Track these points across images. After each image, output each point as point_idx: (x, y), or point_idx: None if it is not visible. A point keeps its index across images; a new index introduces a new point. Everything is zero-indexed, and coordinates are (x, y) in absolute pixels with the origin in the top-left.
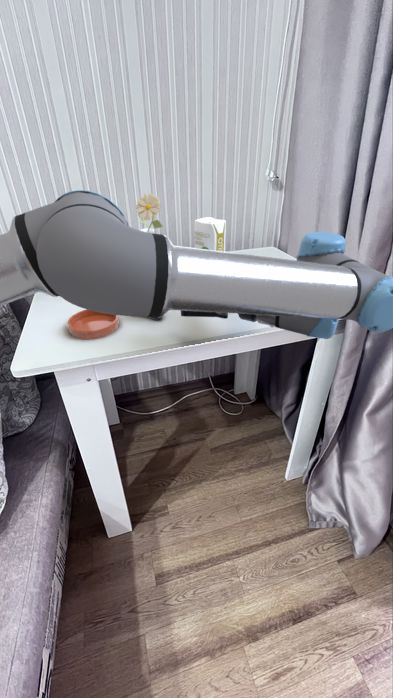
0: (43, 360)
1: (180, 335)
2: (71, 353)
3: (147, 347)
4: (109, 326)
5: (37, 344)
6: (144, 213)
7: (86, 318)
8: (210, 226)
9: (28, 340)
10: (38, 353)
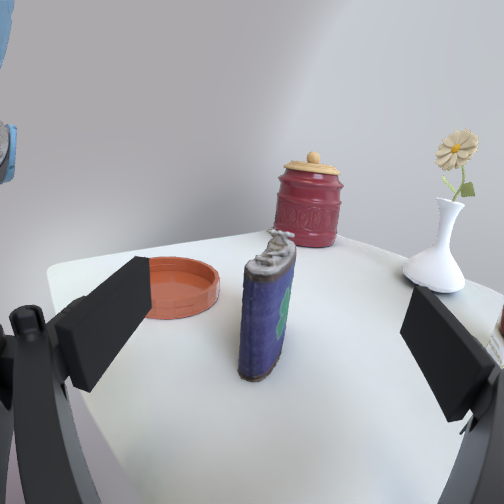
0: (59, 276)
1: (166, 462)
2: (71, 292)
3: (80, 389)
4: None
5: (102, 262)
6: (445, 158)
7: (189, 276)
8: None
9: (114, 255)
10: (78, 268)
